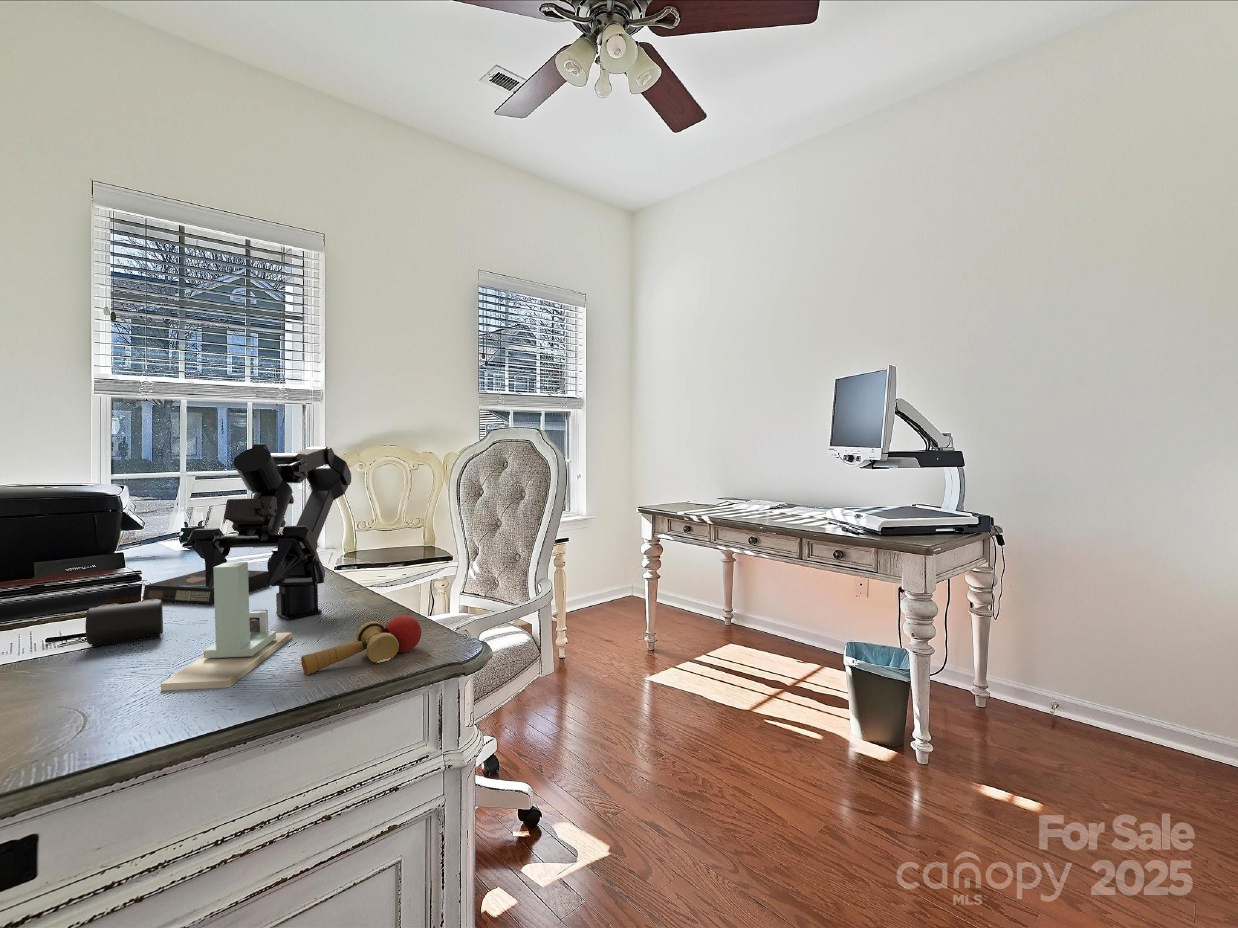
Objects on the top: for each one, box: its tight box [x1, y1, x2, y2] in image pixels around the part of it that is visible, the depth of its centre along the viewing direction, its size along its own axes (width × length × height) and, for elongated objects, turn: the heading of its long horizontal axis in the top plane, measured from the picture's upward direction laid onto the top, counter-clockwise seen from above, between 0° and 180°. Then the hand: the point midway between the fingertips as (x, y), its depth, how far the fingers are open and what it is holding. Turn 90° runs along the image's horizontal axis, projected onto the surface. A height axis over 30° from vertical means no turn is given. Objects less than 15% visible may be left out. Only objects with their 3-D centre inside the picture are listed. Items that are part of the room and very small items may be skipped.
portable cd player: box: [142, 569, 269, 606], centre depth 135 cm, size 16×17×4 cm
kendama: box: [300, 614, 422, 676], centre depth 95 cm, size 8×6×18 cm
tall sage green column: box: [203, 561, 277, 658], centre depth 97 cm, size 8×7×14 cm
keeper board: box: [160, 609, 293, 692], centre depth 94 cm, size 21×9×6 cm, turn 7°
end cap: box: [85, 598, 164, 648], centre depth 104 cm, size 10×7×7 cm
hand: (238, 585), depth 96 cm, fingers open, 9 cm apart
